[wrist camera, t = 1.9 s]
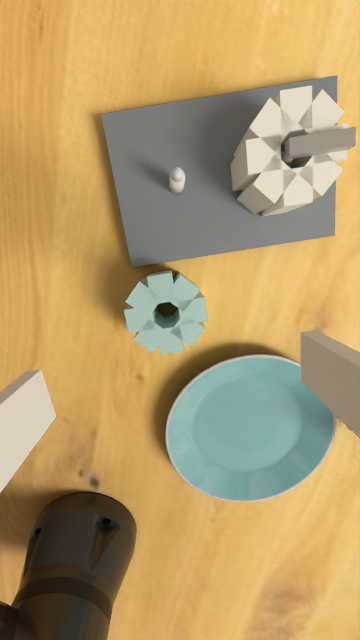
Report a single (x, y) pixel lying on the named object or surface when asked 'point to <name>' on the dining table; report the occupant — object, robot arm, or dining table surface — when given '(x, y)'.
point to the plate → (248, 429)
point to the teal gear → (170, 328)
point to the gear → (290, 152)
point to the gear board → (200, 178)
